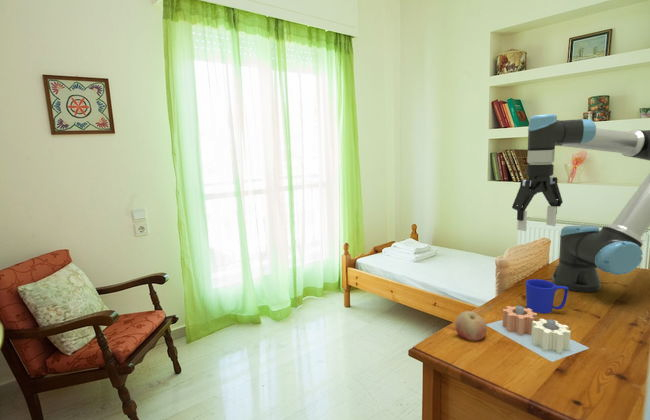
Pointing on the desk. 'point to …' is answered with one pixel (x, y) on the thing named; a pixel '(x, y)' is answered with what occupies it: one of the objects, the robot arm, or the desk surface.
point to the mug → (543, 295)
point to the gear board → (527, 342)
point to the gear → (550, 336)
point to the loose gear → (518, 320)
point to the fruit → (470, 326)
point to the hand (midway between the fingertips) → (536, 227)
